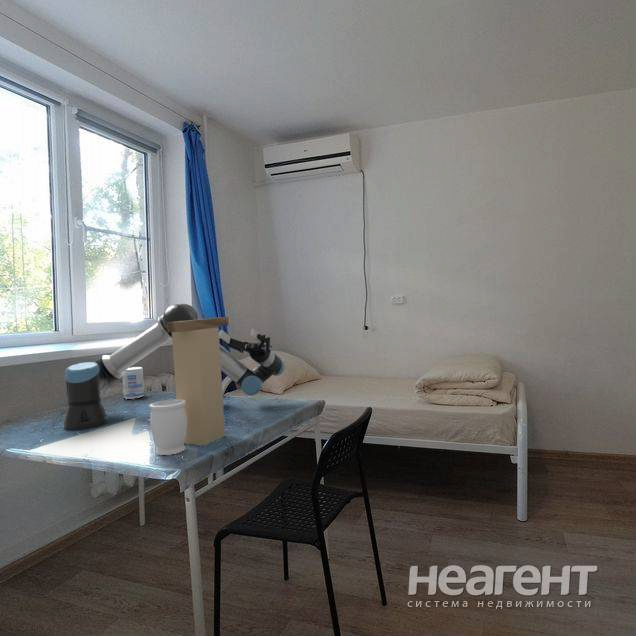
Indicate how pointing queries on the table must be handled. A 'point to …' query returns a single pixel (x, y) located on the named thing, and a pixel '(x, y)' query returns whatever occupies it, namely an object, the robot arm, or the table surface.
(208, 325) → the brown rectangular bar
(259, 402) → the table surface
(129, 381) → the supplement tub
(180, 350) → the carton
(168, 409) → the jar
